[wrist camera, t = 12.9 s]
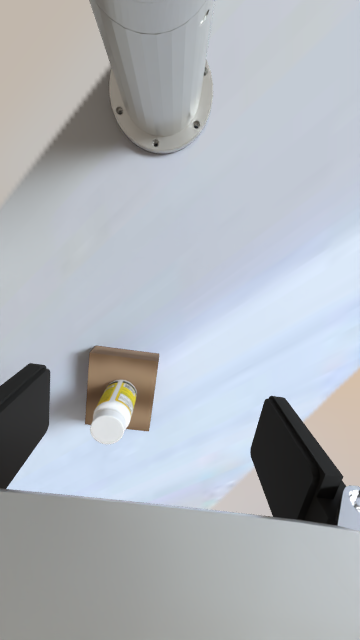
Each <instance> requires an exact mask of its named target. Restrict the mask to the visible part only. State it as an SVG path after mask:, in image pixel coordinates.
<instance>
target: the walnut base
mask: <svg viewBox="0 0 360 640" xmlns="http://www.w3.org/2000/svg"><path fill="white" fill-rule="evenodd" d="M158 361H159V354H157V353H149V352H141V351H134V350H126V349H118V348H110V347H103V346H95V347H94V348H93V349H92V351H91V352H90V354H89V369H88V385H87V401H86V417H85V424H88V425H91V424H92V421H93V414H94V411H95V408H96V407H97V405H98V403H99V401H100V399H101V397H102V395H103V393H104V391H105V389H106V387H107V386H108V385H109V384H110V383H111V382H113V381H115V380H126V381H128V382H130V383H131V384H133V386H134V387H135V389H136V392H137V397H136V401H135V405H134V409H133V413H132V416H131V420H130V423H129V425H128V427H127V428H126V429H132V430H141V431H149V427H150V421H151V413H152V406H153V399H154V391H155V384H156V376H157V369H158Z"/></svg>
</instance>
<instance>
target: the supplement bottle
mask: <svg viewBox="0 0 360 640" xmlns="http://www.w3.org/2000/svg"><path fill="white" fill-rule="evenodd" d="M136 397H137V392H136V389H135V387H134V386H133V384H131V383H130V382H128V381H126V380H115V381H113V382H111V383H110V384H109V385H108V386H107V387H106V389H105V391H104V393H103V395H102V397H101V399H100V401H99V403H98V405H97V407H96V408H95V411H94V414H93V421H92V424H91V427H90V431H91V435H92V436H93V438H94V439H95V440H96V441H98V442H100V443H102V444H113V443H116V442H117V441H119V440H120V439H121V438H122V436H123V434H124V431H125V429H126V428H127V427H128V425H129V423H130V420H131V416H132V413H133V409H134V405H135V401H136Z"/></svg>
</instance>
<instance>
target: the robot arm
mask: <svg viewBox="0 0 360 640" xmlns="http://www.w3.org/2000/svg"><path fill="white" fill-rule="evenodd" d="M89 1H90V4H91V7H92V10H93V13H94V16H95V19H96V22H97V25H98V28H99V31H100V34H101V37H102V40H103V43H104V46H105V49H106V52H107V55H108V58H109V61H110V64H111V67H112V68H111V71H110V78H109V96H110V102H111V107H112V110H113V112H114V115H115V118H116V120H117V122H118V124H119V126H120V127H121V129H122V131H123V132H124V134H125V135H126V136H127V137H128V138H129V139H130V140H131V141H132V142H133V143H135V144H136V145H137V146H139V147H140V148H143V149H145V150H147V151H150V152H154V153H172V152H176V151H178V150H181V149H183V148H185V147H186V146H188V145H189V144H191V143H192V142H193V141H194V140H195V139H196V138H197V137H198V136H199V134H200V133H201V131H202V130H203V128H204V127H205V125H206V122H207V120H208V117H209V114H210V110H211V106H212V99H213V81H212V75H211V71H210V68H209V65H208V62H207V60H206V57H207V50H208V44H209V37H210V31H211V24H212V18H213V11H214V5H215V0H89ZM204 75H205V76H204ZM120 113H123V114H121V115H119V114H120ZM195 126H197V127H198V129H196V128H194V127H195ZM155 144H157V145H158V146H157V147H155V146H154V145H155ZM49 400H50V370H49V369H46V366H45V365H39V364H32V363H30V364H28V365H27V366H26V367H24V368H23V369H22V370H20V371H19V372H18V373H17V374H15V375H14V376H13V377H11V378H10V379H9V380H7V381H6V382H5V383H4V384H2V385H1V386H0V640H360V487H359V486H351V485H350V486H347V487H346V485H345V484H344V483H343V481H342V479H343V476H342V474H341V473H340V471H339V470H338V469H337V467H336V466H335V465H334V464H333V462H332V461H331V460H330V458H329V457H328V456H327V454H326V453H325V451H324V450H323V449H322V447H321V446H320V445H319V443H318V442H317V441H316V439H315V438H314V437H313V435H312V434H311V433H310V431H309V430H308V429H307V427H306V426H305V424H304V423H303V422H302V420H301V419H300V418H299V416H298V415H297V414H296V412H295V411H294V410H293V408H292V407H291V406H290V404H289V403H288V402H287V400H286V399H285V398H282V397H275V396H270V397H269V399H266V400H265V401H264V405H263V408H262V411H261V415H260V418H259V422H258V425H257V429H256V432H255V436H254V439H253V442H252V446H251V458H252V461H253V463H254V466H255V469H256V472H257V474H258V477H259V480H260V482H261V485H262V488H263V491H264V493H265V496H266V499H267V501H268V504H269V507H270V510H271V512H272V515H273V517H270V516H261V515H252V514H243V513H234V512H225V511H217V510H208V509H199V508H189V507H180V506H171V505H161V504H152V503H142V502H132V501H123V500H113V499H103V498H93V497H83V496H73V495H62V494H52V493H42V492H32V491H21V490H10V489H6V488H7V487H8V485H9V484H10V482H11V481H12V480H13V478H14V477H15V475H16V474H17V473H18V471H19V470H20V468H21V467H22V465H23V464H24V463H25V461H26V460H27V458H28V457H29V456H30V454H31V453H32V451H33V450H34V449H35V447H36V446H37V444H38V443H39V442H40V440H41V439H42V437H43V436H44V435H45V433H46V431H47V429H48V426H49Z"/></svg>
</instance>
